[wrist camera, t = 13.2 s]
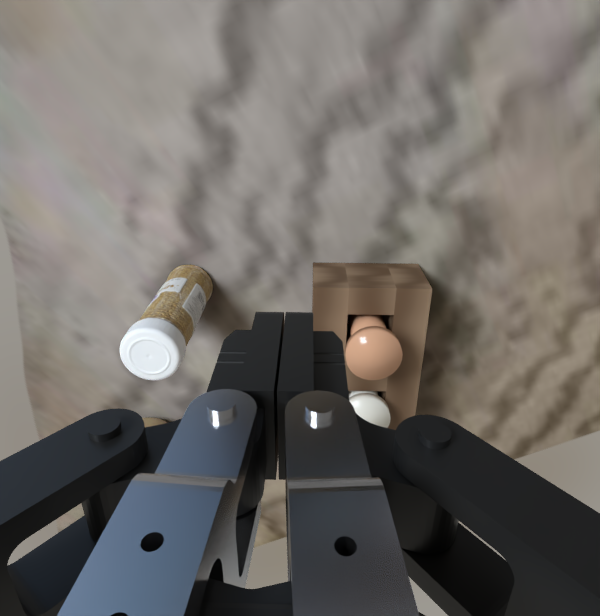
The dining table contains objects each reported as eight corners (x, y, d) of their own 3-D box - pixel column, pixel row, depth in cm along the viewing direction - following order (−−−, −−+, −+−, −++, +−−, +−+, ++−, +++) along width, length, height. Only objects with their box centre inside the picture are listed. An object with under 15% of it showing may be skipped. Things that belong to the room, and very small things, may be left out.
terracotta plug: (391, 296, 44) (405, 332, 38) (387, 339, 46) (399, 380, 40) (342, 295, 44) (347, 331, 38) (339, 338, 46) (344, 379, 40)
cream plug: (382, 358, 49) (392, 399, 43) (378, 395, 51) (388, 439, 45) (337, 358, 49) (341, 398, 43) (336, 394, 51) (339, 438, 45)
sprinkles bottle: (173, 257, 46) (123, 321, 34) (219, 271, 46) (186, 340, 34) (163, 298, 48) (113, 372, 35) (207, 311, 48) (172, 389, 36)
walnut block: (418, 263, 45) (432, 288, 40) (394, 462, 56) (403, 503, 51) (313, 262, 46) (313, 287, 40) (309, 461, 56) (309, 501, 51)
